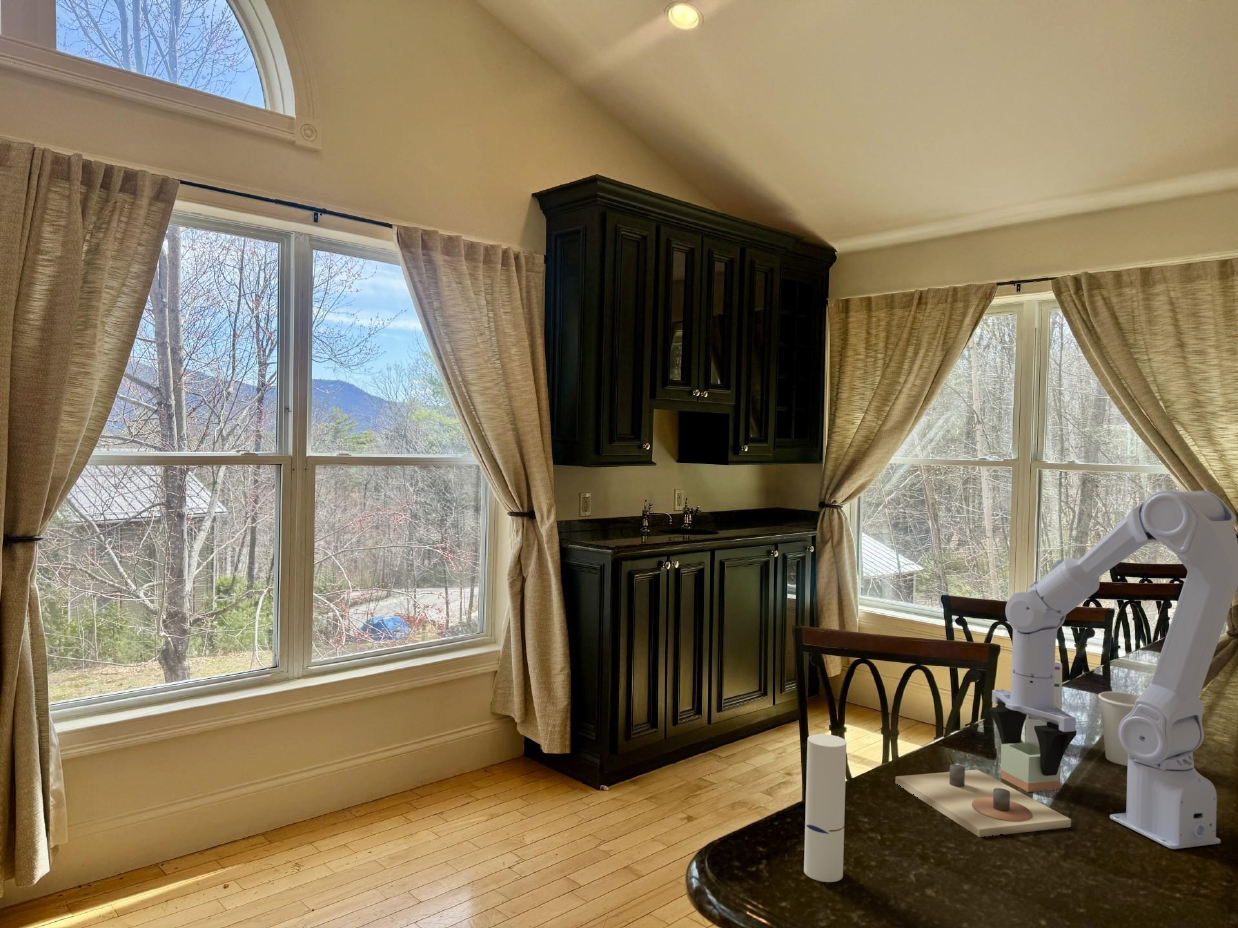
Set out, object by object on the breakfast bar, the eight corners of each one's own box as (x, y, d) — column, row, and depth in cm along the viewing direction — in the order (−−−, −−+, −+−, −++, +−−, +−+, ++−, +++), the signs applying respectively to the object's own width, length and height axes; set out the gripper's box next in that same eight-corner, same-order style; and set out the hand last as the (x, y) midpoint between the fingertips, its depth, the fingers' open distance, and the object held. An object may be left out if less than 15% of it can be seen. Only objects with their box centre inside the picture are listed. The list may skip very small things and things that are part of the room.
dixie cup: (1166, 772, 131) (1168, 707, 131) (1107, 766, 133) (1108, 703, 133) (1144, 754, 139) (1146, 693, 139) (1088, 749, 141) (1090, 689, 141)
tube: (836, 863, 98) (840, 734, 98) (847, 881, 94) (851, 746, 94) (799, 863, 98) (803, 733, 98) (809, 881, 94) (813, 746, 94)
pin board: (1070, 826, 110) (1071, 799, 110) (979, 836, 106) (980, 809, 106) (976, 775, 127) (977, 752, 127) (895, 783, 124) (896, 759, 123)
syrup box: (1062, 750, 140) (1064, 662, 140) (1024, 746, 141) (1026, 660, 141) (1052, 739, 146) (1054, 655, 146) (1015, 736, 147) (1017, 652, 147)
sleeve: (1060, 788, 123) (1061, 754, 123) (1027, 791, 122) (1028, 756, 122) (1031, 774, 128) (1032, 741, 128) (1000, 777, 127) (1001, 744, 127)
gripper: (976, 662, 131) (973, 749, 131) (1047, 687, 117) (1044, 785, 117) (1014, 660, 133) (1011, 746, 133) (1089, 685, 119) (1085, 781, 119)
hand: (1029, 764), depth 125 cm, fingers open, 7 cm apart
